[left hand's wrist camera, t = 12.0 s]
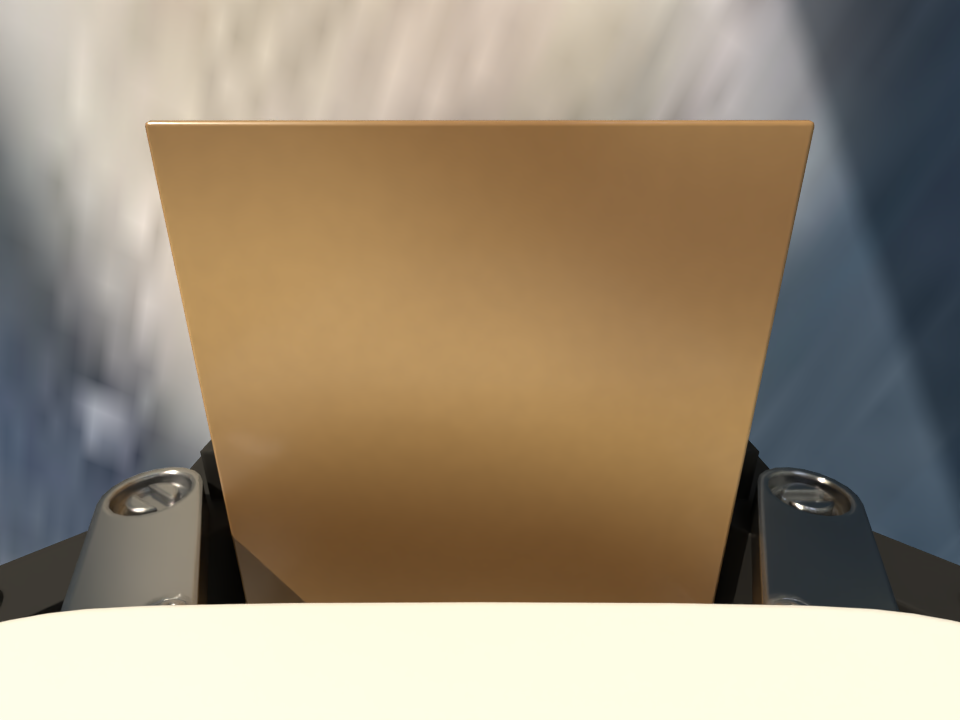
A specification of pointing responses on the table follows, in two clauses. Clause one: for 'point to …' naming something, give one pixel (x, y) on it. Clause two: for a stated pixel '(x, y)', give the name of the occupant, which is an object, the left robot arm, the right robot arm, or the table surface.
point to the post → (480, 347)
